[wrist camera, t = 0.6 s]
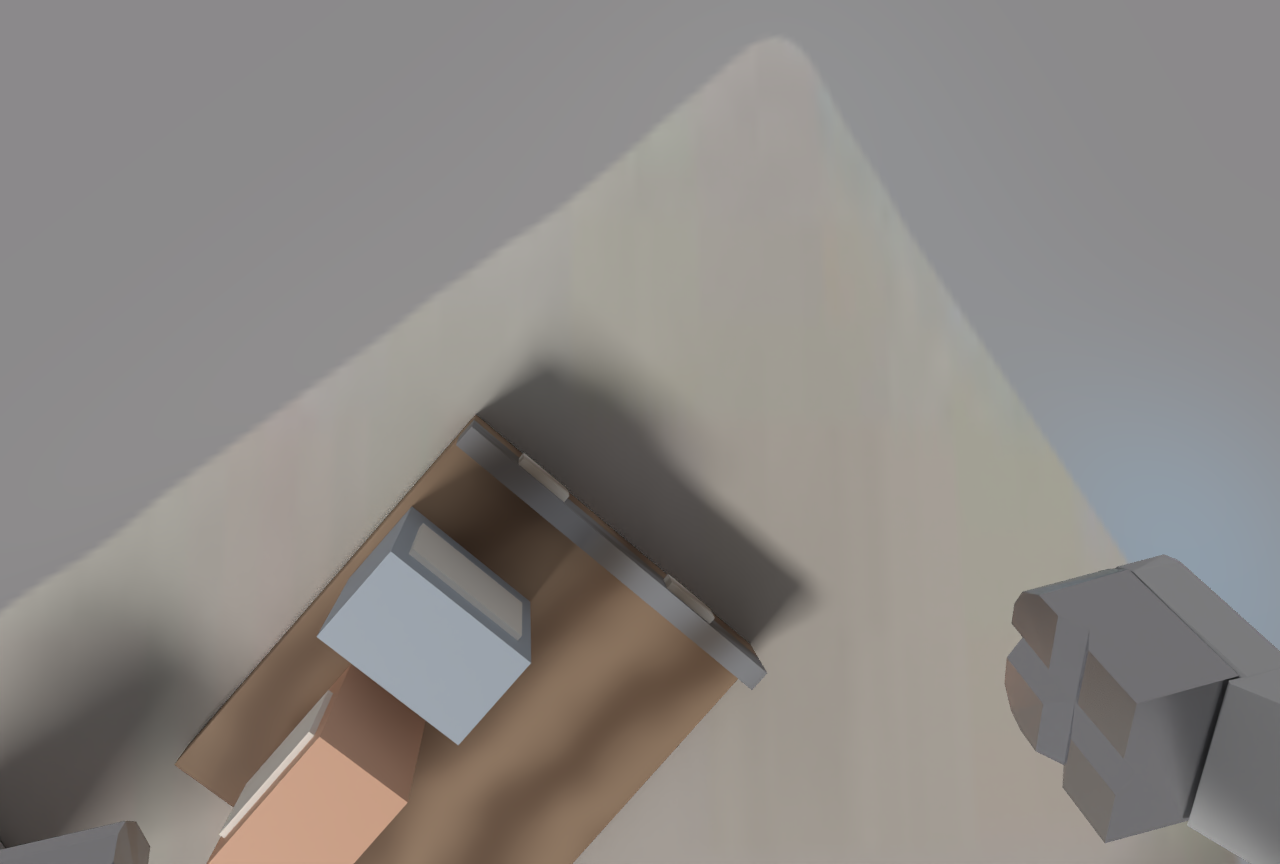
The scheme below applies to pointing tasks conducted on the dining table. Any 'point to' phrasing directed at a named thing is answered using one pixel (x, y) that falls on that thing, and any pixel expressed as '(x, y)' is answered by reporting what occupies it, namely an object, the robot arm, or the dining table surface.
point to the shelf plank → (540, 697)
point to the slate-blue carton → (432, 626)
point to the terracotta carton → (328, 781)
